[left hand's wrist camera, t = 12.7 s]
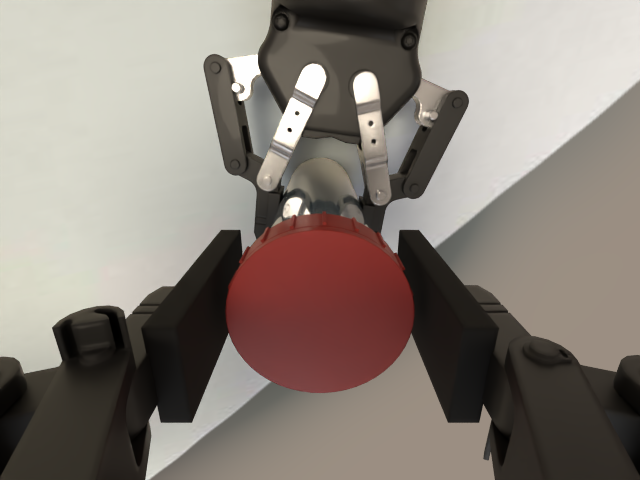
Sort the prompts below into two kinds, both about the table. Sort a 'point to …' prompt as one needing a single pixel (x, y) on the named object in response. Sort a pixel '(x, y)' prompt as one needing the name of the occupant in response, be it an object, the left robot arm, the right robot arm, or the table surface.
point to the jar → (320, 192)
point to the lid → (319, 304)
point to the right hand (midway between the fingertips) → (315, 251)
